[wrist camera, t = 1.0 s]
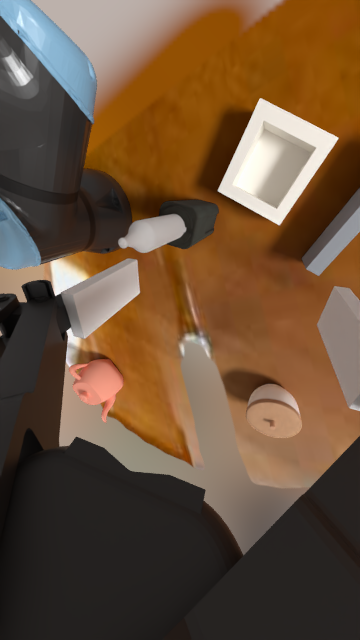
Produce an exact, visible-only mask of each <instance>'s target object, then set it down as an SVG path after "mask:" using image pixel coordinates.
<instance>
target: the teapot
mask: <svg viewBox="0 0 360 640" xmlns="http://www.w3.org/2000/svg"><path fill="white" fill-rule="evenodd" d="M82 367H83V368H82ZM79 368H82V369H81V371H80V372H79V374H77V373H76V370H77V369H79ZM69 372H70V373H71V375H73V376H74V377H75V378H76V379H75V381H74V384H73V389H74V391H75V392H76V393H77V395H78V396H79V398H80V399H81V400H82V401H84V402H85V403H87V404H90V405H97V404H100V403H102V402H104V401H106V403H105V406H104V409H103V411H102V419H103V421H104V422H105V423H106V416H107V413H108V411H109V409H110V408H111V407H112V405H113V404H114V402H115V399H116V393H117V392H118V391H119V390H120V389H121V388H122V386H123V376H122V374H120V372H119V371H118V369H117V368H116V367H115V366H114V365H113V363H112V361H111V360H110V359H98V360H93V361H91V362H89V363H87V364H75V365H72V366H71V367H70V368H69Z"/></svg>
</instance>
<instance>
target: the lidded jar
mask: <svg viewBox="0 0 360 640" xmlns="http://www.w3.org/2000/svg"><path fill="white" fill-rule="evenodd" d="M246 418H247V421H248V422H249V424H250V425H251V426H252V427H253V428H254V429H255V430H257V431H258V432H260V433H262V434H264V435H267V436H270V437H276V438H287V437H291V436H294V435H296V434H297V433H298V432H299V431H300V430H301V427H302V422H301V417H300V412H299V408H298V405H297V403H296V400H295V399H294V397H293V396H292V395H291V394H290V393H289V392H288V391H287V390H285V389H284V388H282V387H281V386H279V385H276V384H265V385H263V386H260V387H258V388H257V389H256V390H254V392H253V393H252V394H251V396H250V398H249V401H248V407H247V411H246Z"/></svg>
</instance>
